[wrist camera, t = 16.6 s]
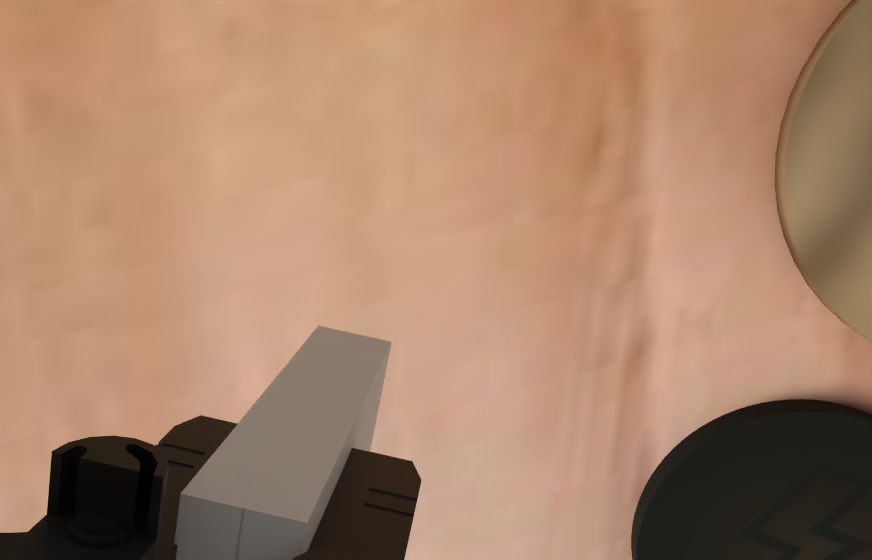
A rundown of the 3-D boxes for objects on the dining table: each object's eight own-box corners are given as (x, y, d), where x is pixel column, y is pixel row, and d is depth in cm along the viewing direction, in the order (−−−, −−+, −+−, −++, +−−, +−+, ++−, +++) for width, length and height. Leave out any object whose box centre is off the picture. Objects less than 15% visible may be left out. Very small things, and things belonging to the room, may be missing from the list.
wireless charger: (604, 639, 46) (608, 662, 44) (664, 373, 42) (672, 386, 40) (895, 691, 45) (913, 718, 44) (988, 425, 41) (1012, 441, 39)
